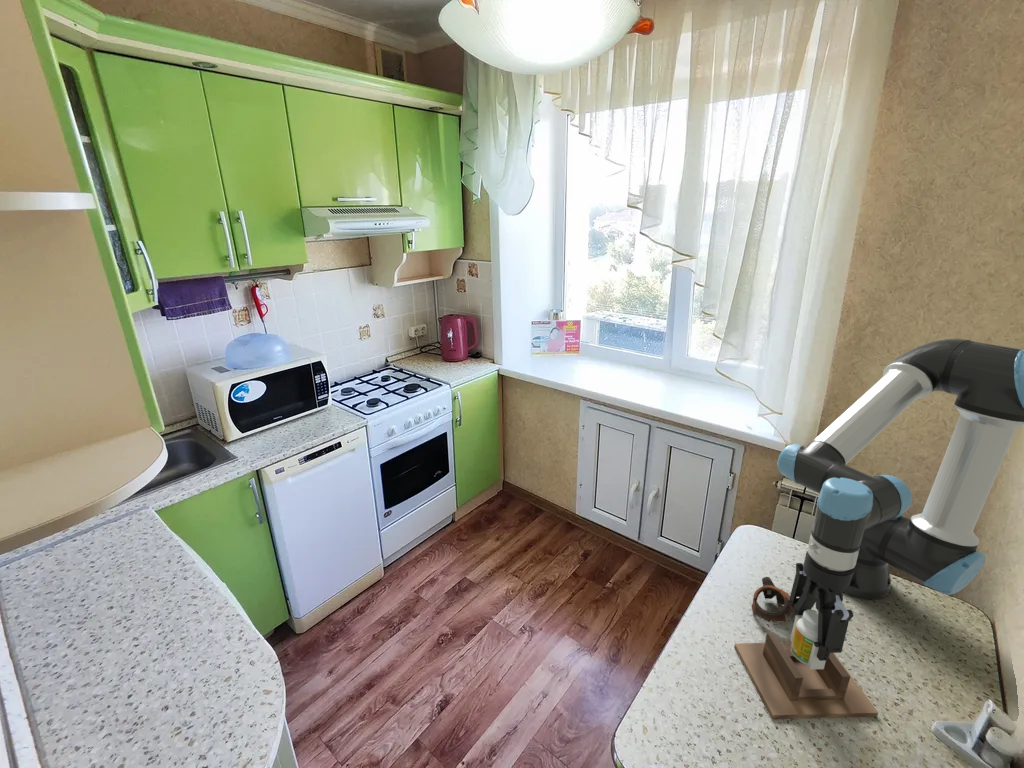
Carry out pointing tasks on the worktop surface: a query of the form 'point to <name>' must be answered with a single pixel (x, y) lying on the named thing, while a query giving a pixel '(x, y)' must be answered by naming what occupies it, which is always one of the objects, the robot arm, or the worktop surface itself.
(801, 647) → the supplement bottle
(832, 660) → the wooden cradle tray
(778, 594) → the pottery mug
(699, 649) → the worktop surface
